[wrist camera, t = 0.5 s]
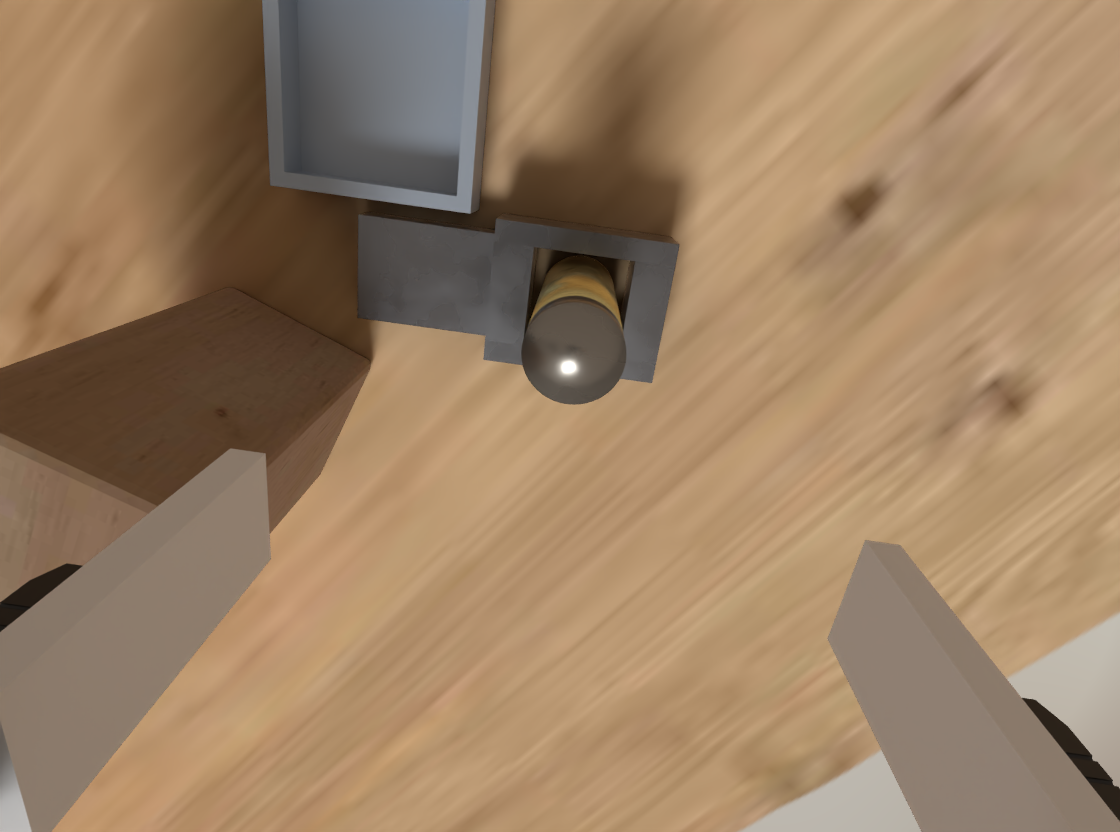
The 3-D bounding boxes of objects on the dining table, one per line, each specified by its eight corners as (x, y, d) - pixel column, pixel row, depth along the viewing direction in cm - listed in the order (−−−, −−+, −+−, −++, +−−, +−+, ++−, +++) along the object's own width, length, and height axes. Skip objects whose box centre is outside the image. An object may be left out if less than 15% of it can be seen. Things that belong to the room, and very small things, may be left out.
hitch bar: (368, 325, 40) (347, 340, 37) (369, 194, 37) (348, 197, 34) (646, 364, 40) (651, 382, 37) (671, 236, 37) (679, 244, 34)
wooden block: (375, 359, 41) (200, 525, 22) (320, 476, 44) (129, 703, 26) (230, 282, 39) (-87, 392, 21) (184, 409, 43) (-122, 600, 24)
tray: (294, 183, 37) (270, 185, 34) (287, -40, 33) (259, -58, 30) (479, 209, 37) (470, 213, 34) (496, -9, 33) (487, -25, 30)
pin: (538, 321, 39) (515, 396, 27) (547, 250, 38) (527, 296, 25) (608, 331, 40) (616, 410, 27) (619, 260, 38) (635, 311, 25)
